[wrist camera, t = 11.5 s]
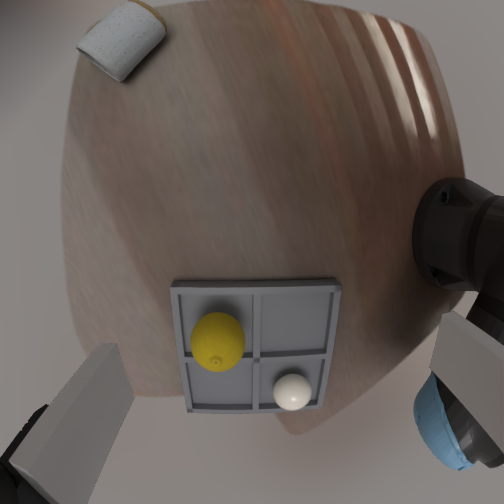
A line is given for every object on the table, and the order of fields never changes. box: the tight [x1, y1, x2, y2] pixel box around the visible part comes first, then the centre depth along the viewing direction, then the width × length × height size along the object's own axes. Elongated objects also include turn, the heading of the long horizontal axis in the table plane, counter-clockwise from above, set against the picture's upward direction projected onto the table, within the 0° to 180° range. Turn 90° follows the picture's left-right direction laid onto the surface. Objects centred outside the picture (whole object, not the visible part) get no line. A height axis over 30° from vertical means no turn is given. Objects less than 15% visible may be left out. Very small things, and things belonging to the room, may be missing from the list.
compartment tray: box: [170, 279, 342, 414], centre depth 32 cm, size 18×18×2 cm
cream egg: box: [273, 374, 312, 411], centre depth 31 cm, size 5×5×5 cm
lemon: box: [190, 312, 245, 372], centre depth 27 cm, size 6×6×8 cm
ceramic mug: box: [76, 0, 167, 82], centre depth 21 cm, size 11×8×8 cm
